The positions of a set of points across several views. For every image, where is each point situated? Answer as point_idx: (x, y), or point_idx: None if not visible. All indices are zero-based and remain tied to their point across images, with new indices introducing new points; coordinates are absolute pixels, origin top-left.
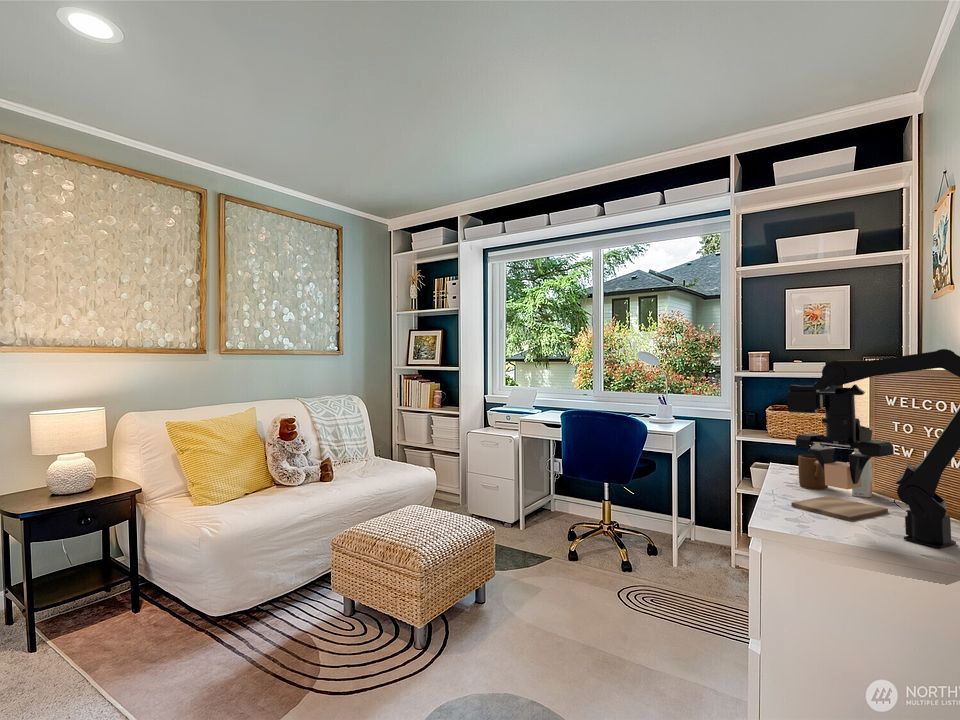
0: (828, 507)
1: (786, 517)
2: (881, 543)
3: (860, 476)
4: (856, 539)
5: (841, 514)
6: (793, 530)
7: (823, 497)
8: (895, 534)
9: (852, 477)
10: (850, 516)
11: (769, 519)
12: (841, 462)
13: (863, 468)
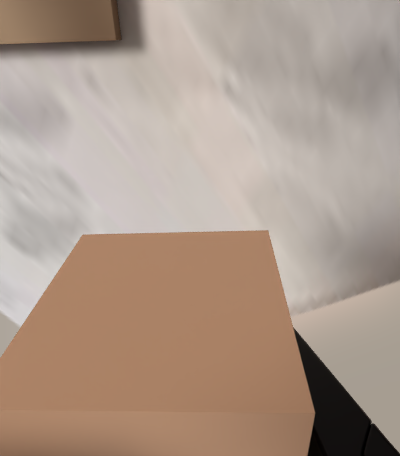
0: None
1: (2, 229)
2: (357, 223)
3: (283, 297)
4: (287, 251)
5: (66, 31)
6: None
7: None
8: (348, 60)
9: None
10: (111, 25)
11: (14, 292)
12: (43, 425)
13: (387, 440)
